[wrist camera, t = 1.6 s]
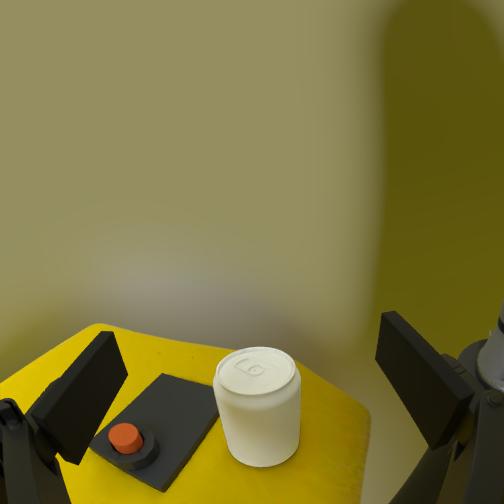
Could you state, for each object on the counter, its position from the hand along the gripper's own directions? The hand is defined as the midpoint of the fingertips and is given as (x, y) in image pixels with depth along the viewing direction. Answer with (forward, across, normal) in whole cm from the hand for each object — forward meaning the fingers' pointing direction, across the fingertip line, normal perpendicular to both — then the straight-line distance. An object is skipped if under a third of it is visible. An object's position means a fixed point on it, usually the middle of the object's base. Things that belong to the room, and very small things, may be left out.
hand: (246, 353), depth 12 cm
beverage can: (+9, 0, -20) cm, 22 cm away
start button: (+6, -15, -18) cm, 24 cm away
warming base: (+12, -13, -20) cm, 27 cm away
